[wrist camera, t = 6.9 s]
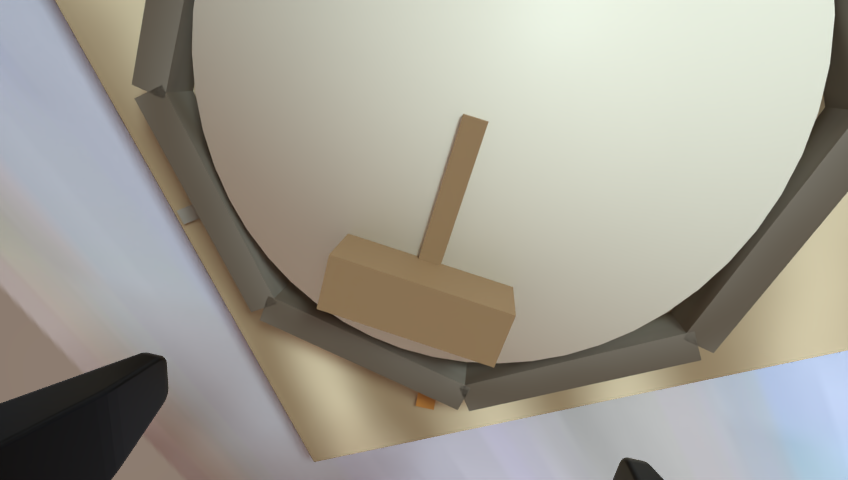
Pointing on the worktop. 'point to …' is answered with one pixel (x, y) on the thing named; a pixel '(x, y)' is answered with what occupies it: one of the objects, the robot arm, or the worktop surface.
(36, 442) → the robot arm
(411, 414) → the dial base
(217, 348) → the worktop surface
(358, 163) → the dial
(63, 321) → the worktop surface
